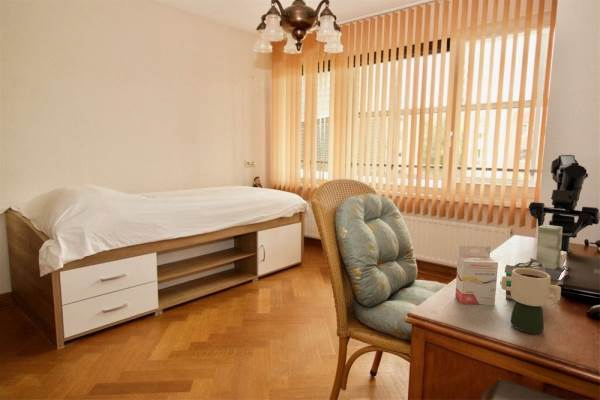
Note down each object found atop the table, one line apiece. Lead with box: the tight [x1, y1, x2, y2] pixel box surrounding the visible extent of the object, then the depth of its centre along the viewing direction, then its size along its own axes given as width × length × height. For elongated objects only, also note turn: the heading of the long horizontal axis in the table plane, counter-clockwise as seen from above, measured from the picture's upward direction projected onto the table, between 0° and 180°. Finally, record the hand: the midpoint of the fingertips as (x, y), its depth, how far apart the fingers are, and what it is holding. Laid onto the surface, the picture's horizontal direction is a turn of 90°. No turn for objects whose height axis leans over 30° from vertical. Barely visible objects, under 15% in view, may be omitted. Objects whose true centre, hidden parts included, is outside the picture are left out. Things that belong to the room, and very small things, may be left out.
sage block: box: [535, 224, 563, 270], centre depth 109 cm, size 5×5×13 cm
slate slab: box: [545, 265, 567, 282], centre depth 110 cm, size 9×9×3 cm
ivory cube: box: [560, 251, 568, 266], centre depth 118 cm, size 5×5×5 cm
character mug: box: [500, 268, 562, 334], centre depth 76 cm, size 11×7×13 cm, turn 52°
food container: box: [504, 257, 546, 303], centre depth 90 cm, size 12×6×10 cm, turn 117°
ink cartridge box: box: [455, 245, 499, 306], centre depth 90 cm, size 9×5×15 cm, turn 84°
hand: (555, 232), depth 112 cm, fingers open, 9 cm apart
